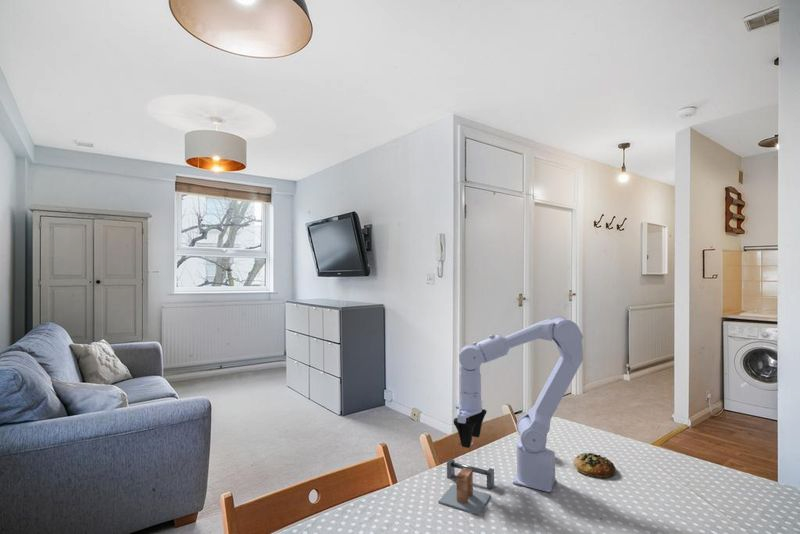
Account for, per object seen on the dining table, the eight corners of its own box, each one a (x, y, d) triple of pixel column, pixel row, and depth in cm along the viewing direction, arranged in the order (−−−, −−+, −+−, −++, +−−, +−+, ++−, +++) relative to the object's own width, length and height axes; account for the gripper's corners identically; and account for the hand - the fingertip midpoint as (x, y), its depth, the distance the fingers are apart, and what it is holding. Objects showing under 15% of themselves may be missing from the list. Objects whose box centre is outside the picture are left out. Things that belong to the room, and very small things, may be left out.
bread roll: (626, 475, 110) (623, 457, 110) (591, 486, 107) (588, 467, 107) (597, 459, 121) (594, 442, 121) (564, 469, 118) (562, 451, 118)
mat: (490, 496, 100) (490, 494, 100) (478, 515, 92) (478, 513, 92) (453, 485, 105) (453, 484, 105) (438, 502, 97) (438, 501, 97)
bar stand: (494, 484, 105) (494, 469, 106) (491, 489, 103) (491, 473, 103) (450, 473, 112) (450, 458, 112) (447, 477, 109) (446, 462, 110)
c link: (472, 494, 100) (472, 469, 100) (466, 503, 96) (465, 478, 96) (463, 492, 101) (463, 467, 101) (456, 501, 97) (456, 475, 97)
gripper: (465, 382, 118) (465, 429, 118) (446, 395, 106) (446, 448, 105) (489, 385, 115) (489, 434, 115) (472, 399, 102) (472, 454, 102)
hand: (470, 441), depth 110 cm, fingers open, 7 cm apart
